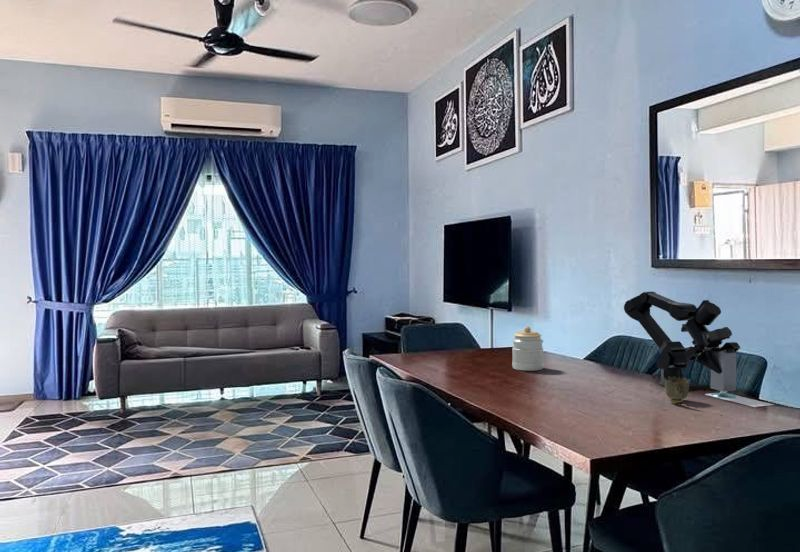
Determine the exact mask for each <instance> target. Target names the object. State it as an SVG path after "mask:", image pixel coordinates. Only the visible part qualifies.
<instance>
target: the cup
mask: <svg viewBox="0 0 800 552" xmlns="http://www.w3.org/2000/svg"><path fill="white" fill-rule="evenodd" d="M690 382H691V379H690V378H687V377H684V376H683V378H682V379H681V378H680V377H679V378H678V379H677V378H676V377H675V376H673V377H672V378H671V377H670V376H669V377H668V379H666V378H664V384H665V387H664V390H665V394H666V396H667V397H668V398H669V399H670V403H671V404H672V405H677V406H679V405H682V404H683V402H684V399H686V398H687V397H688V395H689V390H690V389H689V388H690Z"/></svg>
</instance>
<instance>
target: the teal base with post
mask: <svg viewBox="0 0 800 552" xmlns="http://www.w3.org/2000/svg"><path fill="white" fill-rule="evenodd" d="M710 394H711V393H710ZM711 395H712V396H711V397H713V396H715V397H714V398H717V397H720V398H719V399H721V398H735V397H736V396H737V395H736V394H733V393H728V391H724V392H723V391H719V392H712V394H711Z"/></svg>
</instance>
